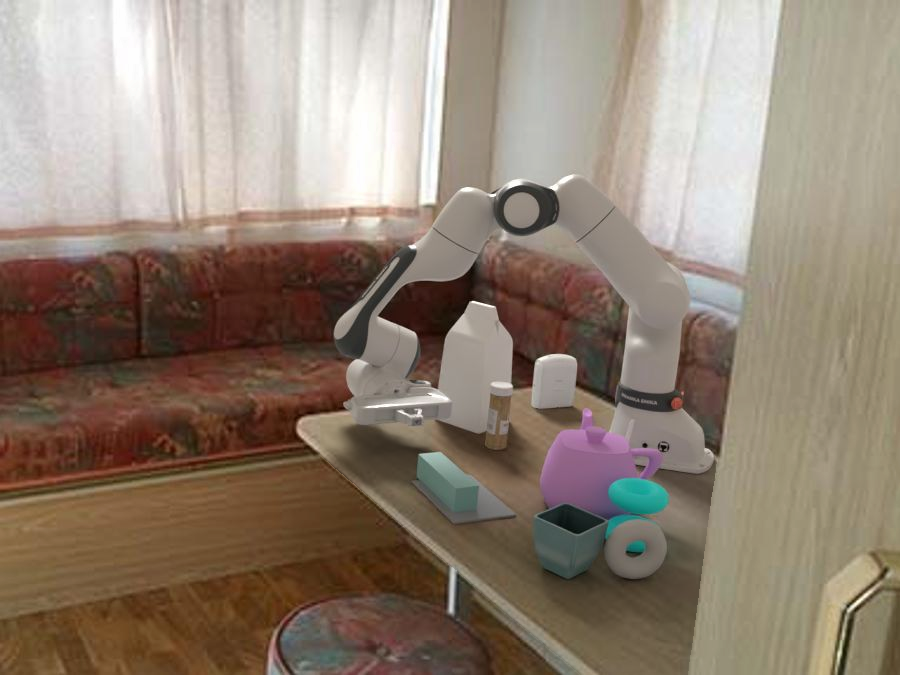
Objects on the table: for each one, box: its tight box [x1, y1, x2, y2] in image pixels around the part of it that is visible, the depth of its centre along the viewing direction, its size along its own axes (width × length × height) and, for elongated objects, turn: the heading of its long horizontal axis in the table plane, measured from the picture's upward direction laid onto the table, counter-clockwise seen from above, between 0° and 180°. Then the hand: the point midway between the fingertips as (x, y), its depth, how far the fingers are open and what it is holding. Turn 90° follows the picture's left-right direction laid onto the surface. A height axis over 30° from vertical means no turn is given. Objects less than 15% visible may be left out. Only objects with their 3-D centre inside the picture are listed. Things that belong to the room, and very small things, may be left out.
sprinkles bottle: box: [484, 381, 514, 451], centre depth 216 cm, size 5×5×13 cm
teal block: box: [416, 451, 479, 512], centre depth 192 cm, size 4×4×16 cm
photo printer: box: [530, 353, 578, 410], centre depth 244 cm, size 10×4×12 cm, turn 114°
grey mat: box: [411, 474, 517, 525], centre depth 191 cm, size 18×12×1 cm, turn 25°
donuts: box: [604, 477, 670, 553], centre depth 179 cm, size 10×10×10 cm
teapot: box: [539, 407, 663, 520], centre depth 193 cm, size 23×21×15 cm
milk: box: [436, 300, 514, 435], centre depth 228 cm, size 12×12×26 cm
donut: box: [603, 519, 668, 580], centre depth 166 cm, size 10×3×10 cm, turn 98°
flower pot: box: [533, 503, 609, 580], centre depth 167 cm, size 9×9×9 cm
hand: (416, 422), depth 202 cm, fingers closed
